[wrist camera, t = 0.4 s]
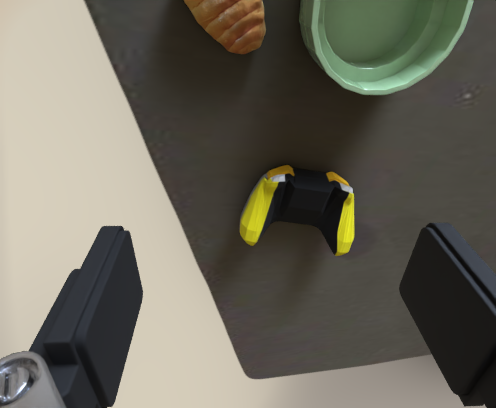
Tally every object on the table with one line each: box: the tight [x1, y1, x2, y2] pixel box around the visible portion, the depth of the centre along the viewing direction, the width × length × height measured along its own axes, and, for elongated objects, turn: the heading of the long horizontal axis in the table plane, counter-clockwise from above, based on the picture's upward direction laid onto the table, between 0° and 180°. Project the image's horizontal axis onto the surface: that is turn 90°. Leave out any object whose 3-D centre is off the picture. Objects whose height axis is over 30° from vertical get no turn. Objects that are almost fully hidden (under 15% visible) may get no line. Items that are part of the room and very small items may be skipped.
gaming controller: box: [239, 165, 354, 256], centre depth 43 cm, size 15×6×10 cm
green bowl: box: [299, 0, 474, 95], centre depth 30 cm, size 13×13×6 cm
